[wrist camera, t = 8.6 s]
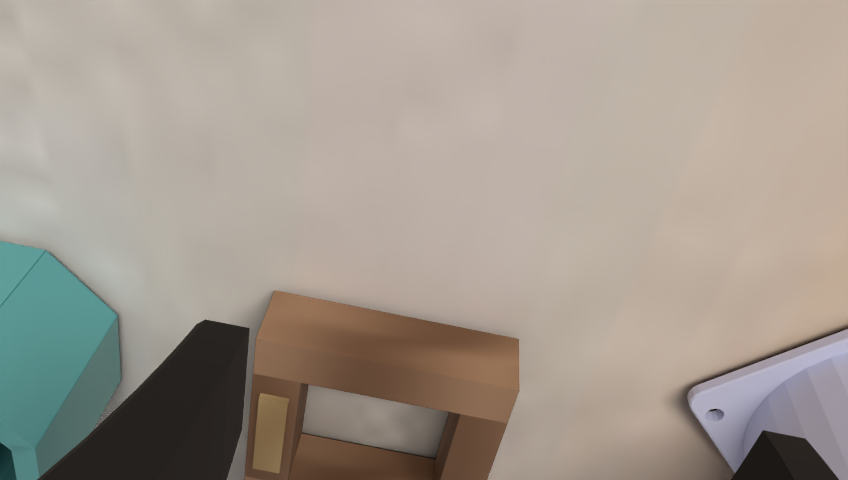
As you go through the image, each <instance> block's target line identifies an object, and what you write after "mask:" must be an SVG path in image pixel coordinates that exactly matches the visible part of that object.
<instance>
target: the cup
mask: <svg viewBox="0 0 848 480" xmlns="http://www.w3.org/2000/svg"><path fill="white" fill-rule="evenodd" d="M120 381H121V371H120V352H119V333H118V316H117V314H115V313H114V312H113V311H112V310H111V309H110V308H109V307H108V306H107V305H106V304H105V303H103V302H102V301H101V300H100V299H99V298H98V297H97V296H96V295H95V294H94V293H92V292H91V291H90V290H89V289H88V288H87V287H86V286H85V285H84V284H83V283H81V282H80V281H79V280H78V279H77V278H76V277H75V276H74V275H73V274H72V273H71V272H69V271H68V270H67V269H66V268H65V267H64V266H63V265H62V264H61V263H60V262H58V261H57V260H56V259H55V258H54V257H53V256H52V255H51V254H50V253H49V252H47V251H46V250H42V249H37V248H32V247H27V246H22V245H17V244H12V243H7V242H2V241H0V480H37V479H38V478H39V477H41V476H42V475H43V474H44V473H45V472H46V471H48V470H49V469H50V468H51V467H52V466H53V465H55V464H56V463H57V462H58V461H59V460H60V459H61V458H63V457H64V456H65V455H66V454H67V453H68V452H70V451H71V450H72V449H73V448H74V447H75V446H77V445H78V444H79V443H80V442H81V441H82V440H84V439H85V438H86V437H87V436H88V435H89V434H90V433H91V432H92V431H93V429H94V427H95V426H96V424H97V422H98V420H99V418H100V417H101V415H102V413H103V411H104V409H105V408H106V406H107V404H108V402H109V401H110V399H111V397H112V395H113V393H114V392H115V390H116V388H117V386H118V384H119V383H120Z"/></svg>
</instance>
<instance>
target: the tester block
mask: <svg viewBox="0 0 848 480" xmlns="http://www.w3.org/2000/svg"><path fill="white" fill-rule="evenodd" d="M308 384H310V385H315V386H320V387H325V388H330V389H335V390H340V391H345V392H350V393H356V394H361V395H366V396H371V397H376V398H381V399H386V400H391V401H396V402H401V403H406V404H412V405H417V406H422V407H427V408H432V409H437V410H442V411H447V412H449V416H448V419H447V423H446V426H445V429H444V433H443V436H442V439H441V443H440V446H439V450H438V453H437V456H436V459H430V458H425V457H420V456H415V455H410V454H405V453H400V452H394V451H389V450H384V449H379V448H374V447H369V446H363V445H358V444H353V443H348V442H343V441H338V440H333V439H327V438H322V437H317V436H312V435H307V434H302V426H303V419H304V412H305V405H306V398H307V390H308ZM518 393H519V339H515V338H510V337H505V336H500V335H495V334H490V333H485V332H480V331H475V330H470V329H465V328H460V327H455V326H450V325H445V324H440V323H435V322H430V321H425V320H420V319H415V318H410V317H405V316H400V315H395V314H390V313H385V312H380V311H375V310H370V309H365V308H360V307H355V306H350V305H345V304H340V303H335V302H330V301H325V300H320V299H315V298H310V297H305V296H300V295H295V294H290V293H285V292H280V291H274V293H273V296H272V298H271V301H270V304H269V306H268V309H267V311H266V314H265V317H264V319H263V322H262V324H261V327H260V329H259V332H258V335H257V337H256V345H255V357H254V369H253V381H252V393H251V405H250V417H249V429H248V441H247V453H246V465H245V477H244V480H487V478H488V476H489V473H490V470H491V467H492V465H493V462H494V459H495V456H496V453H497V451H498V448H499V445H500V442H501V440H502V437H503V434H504V431H505V429H506V426H507V423H508V420H509V417H510V415H511V412H512V409H513V406H514V404H515V401H516V398H517V395H518Z"/></svg>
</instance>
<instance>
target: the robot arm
mask: <svg viewBox="0 0 848 480" xmlns="http://www.w3.org/2000/svg"><path fill="white" fill-rule="evenodd" d="M248 341H249V328H245V327H240V326H235V325H230V324H225V323H220V322H215V321H210V320H204V321H202V322H200V323H198V324H197V325H196V326H195V327H194V328H193V329H192V330H191V332H190V333H189V334H188V335H187V336H186V337H185V339H184V340H183V341H182V342H181V343H180V344H179V345H178V346H177V347H176V349H175V350H174V351H173V352H172V353H171V354H170V355H169V356H168V357H167V358H166V359H165V360H164V362H163V363H162V364H161V365H160V366H159V367H158V368H157V369H156V370H155V371H154V372H153V373H152V374H151V375H150V376H149V377H148V378H147V379H146V380H145V381H144V382H143V383H142V384H141V385H140V386H139V387H138V388H137V389H136V390H135V391H134V392H133V393H132V394H131V395H130V396H129V397H128V398H127V399H126V400H125V401H124V402H123V403H122V404H121V405H120V406H119V407H118V408H117V409H116V410H115V411H113V412H112V413H111V414H110V415H109V416H108V417H107V418H106V419H105V420H104V421H103V422H102V423H101V424H100V425H99V426H98V427H97V428H96V429H95V430H93V431H92V432H91V433H90V434H89V435H88V436H87V437H86V438H85V439H84V440H82V441H81V442H80V443H79V444H78V445H77V446H75V447H74V448H73V449H72V450H71V451H70V452H68V453H67V454H66V455H65V456H64V457H63V458H61V459H60V460H59V461H58V462H57V463H56V464H55V465H53V466H52V467H51V468H50V469H49V470H48V471H46V472H45V473H44V474H43V475H42V476H41V477H39V478H38V479H37V480H226V479H227V476H228V473H229V470H230V467H231V463H232V460H233V457H234V453H235V450H236V447H237V443H238V440H239V437H240V433H241V430H242V420H243V407H244V394H245V380H246V367H247V354H248ZM687 398H688V403H689V406H690V409H691V411H692V412H693V413H694V415H695V416H696V418H697V419H698V421H699V422H700V424H701V425H702V427H703V428H704V429H705V431H706V432H707V434H708V435H709V437H710V438H711V440H712V441H713V443H714V444H715V445H716V447H717V448H718V450H719V451H720V453H721V454H722V456H723V457H724V459H725V460H726V461H727V463H728V464H729V466H730V467H731V469H732V470H733V472H734V473H735V475H734V476H733V478H732V479H731V480H848V329H846V330H844V331H841V332H838V333H836V334H833V335H830V336H828V337H825V338H822V339H819V340H817V341H814V342H811V343H809V344H806V345H803V346H801V347H798V348H795V349H793V350H790V351H787V352H784V353H782V354H779V355H776V356H774V357H771V358H768V359H766V360H763V361H760V362H758V363H755V364H752V365H750V366H747V367H744V368H741V369H739V370H736V371H733V372H731V373H728V374H725V375H723V376H720V377H717V378H715V379H712V380H709V381H707V382H704V383H701V384H698V385H696V386H695V387H693V388H692V389H691V390H690V391H689V392H688V396H687ZM711 409H717V410H716V411H709V410H711Z"/></svg>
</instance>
